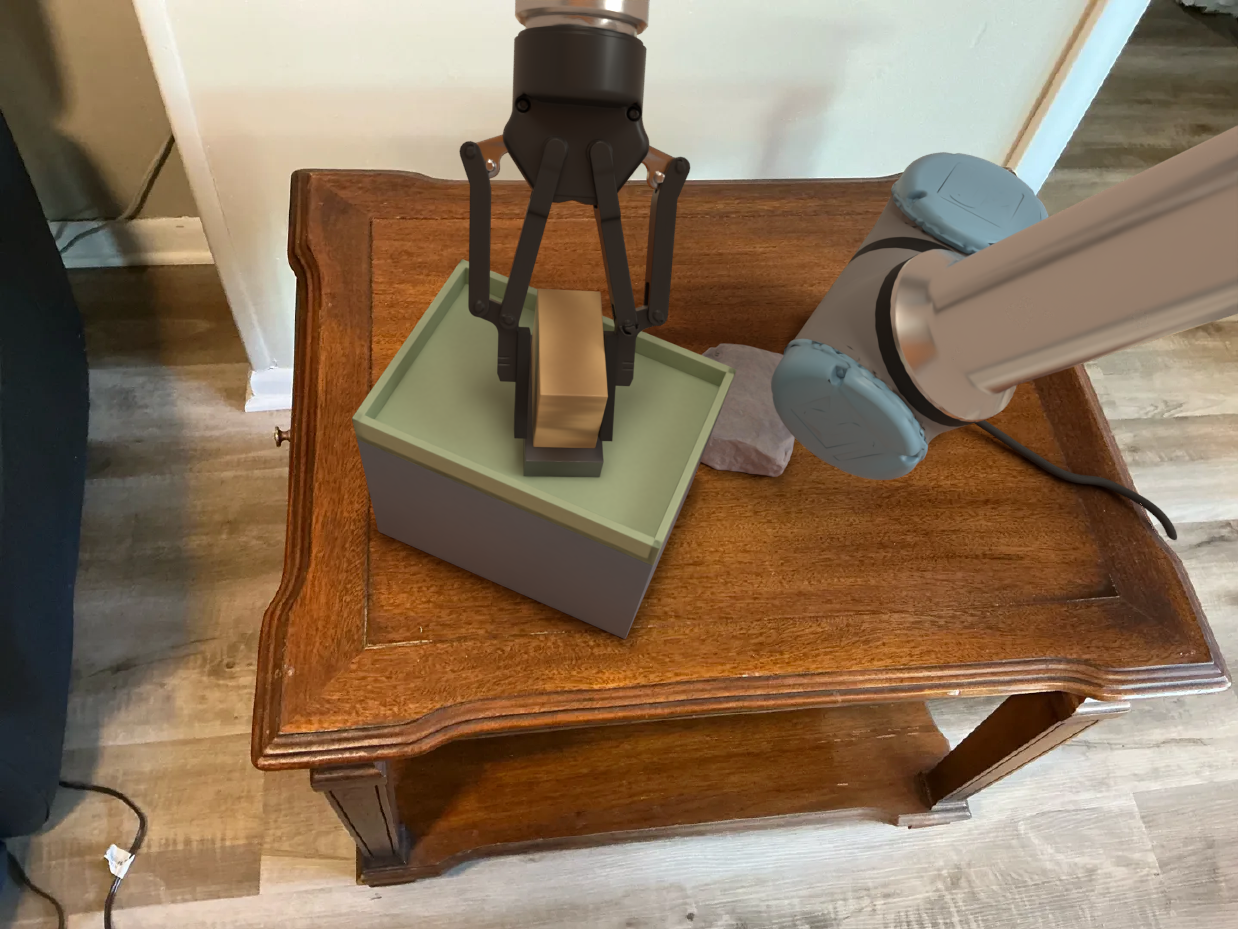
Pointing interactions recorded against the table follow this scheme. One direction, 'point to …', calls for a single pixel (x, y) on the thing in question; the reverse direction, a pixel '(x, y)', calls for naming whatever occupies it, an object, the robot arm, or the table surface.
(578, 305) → the eraser
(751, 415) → the stone block
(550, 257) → the table surface
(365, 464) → the stand
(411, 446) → the tray
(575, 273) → the table surface
